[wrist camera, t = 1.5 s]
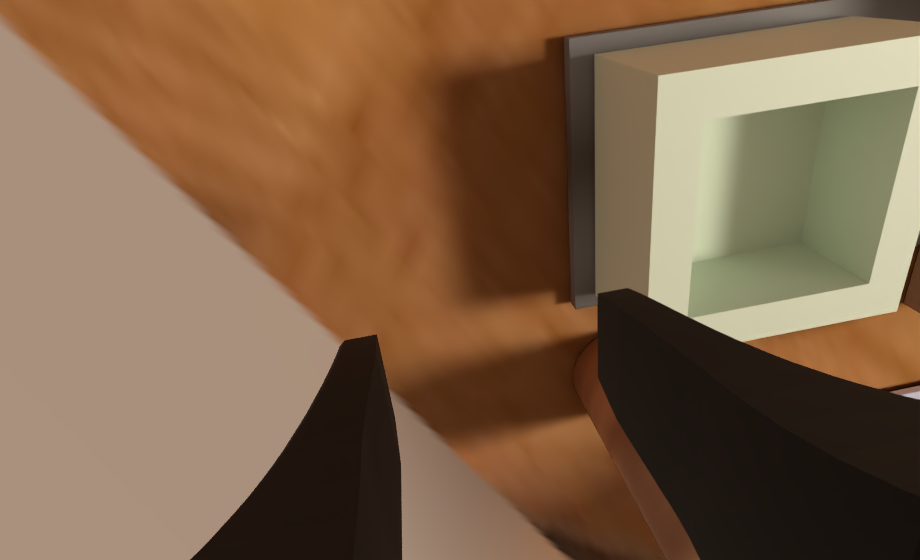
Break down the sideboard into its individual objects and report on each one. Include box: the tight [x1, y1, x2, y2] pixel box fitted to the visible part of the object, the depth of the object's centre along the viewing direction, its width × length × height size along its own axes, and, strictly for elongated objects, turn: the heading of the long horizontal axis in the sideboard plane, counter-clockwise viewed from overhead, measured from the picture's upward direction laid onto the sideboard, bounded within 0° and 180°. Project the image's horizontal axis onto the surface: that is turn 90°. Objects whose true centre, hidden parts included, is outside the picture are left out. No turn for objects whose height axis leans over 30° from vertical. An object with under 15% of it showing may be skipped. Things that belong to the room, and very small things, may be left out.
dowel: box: [573, 337, 700, 560], centre depth 20 cm, size 4×4×8 cm
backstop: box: [564, 0, 920, 313], centre depth 17 cm, size 15×16×6 cm
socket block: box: [594, 16, 920, 342], centre depth 17 cm, size 8×8×4 cm
